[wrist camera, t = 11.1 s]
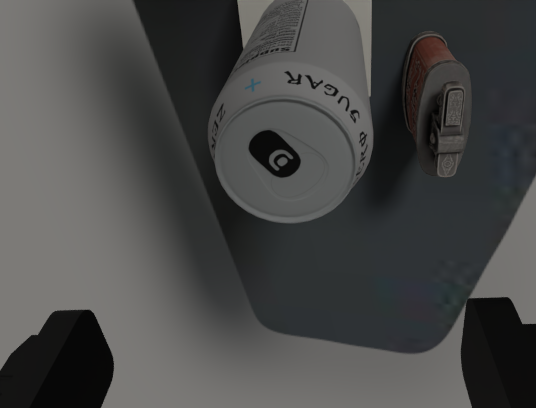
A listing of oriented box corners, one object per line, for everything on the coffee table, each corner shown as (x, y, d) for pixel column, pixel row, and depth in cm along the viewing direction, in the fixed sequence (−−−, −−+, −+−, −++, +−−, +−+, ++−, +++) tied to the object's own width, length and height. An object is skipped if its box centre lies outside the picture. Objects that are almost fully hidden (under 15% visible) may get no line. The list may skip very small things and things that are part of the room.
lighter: (442, 129, 41) (472, 194, 33) (399, 132, 41) (419, 196, 33) (451, 29, 37) (490, 75, 28) (404, 32, 37) (428, 79, 29)
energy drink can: (305, 108, 31) (283, 262, 19) (236, 37, 30) (161, 158, 17) (382, 42, 29) (414, 172, 16) (311, -41, 27) (286, 36, 14)
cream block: (244, -37, 31) (234, -24, 28) (365, -49, 30) (371, -38, 27) (257, 79, 35) (250, 103, 32) (364, 72, 35) (370, 96, 31)
